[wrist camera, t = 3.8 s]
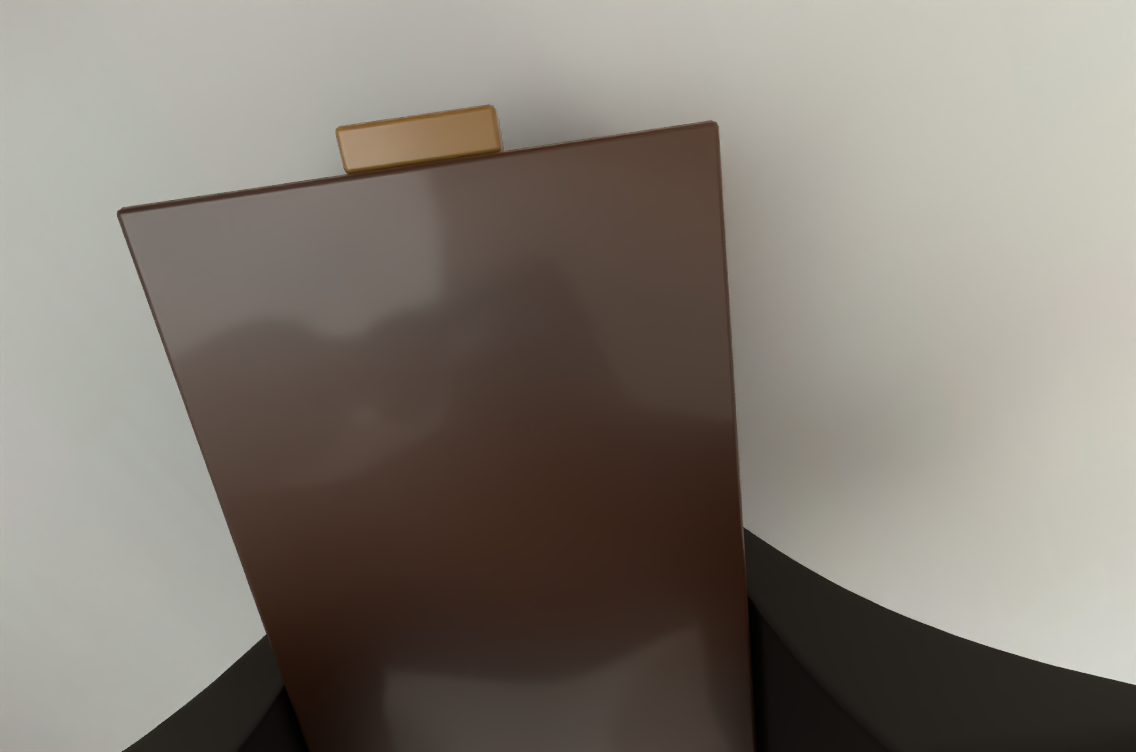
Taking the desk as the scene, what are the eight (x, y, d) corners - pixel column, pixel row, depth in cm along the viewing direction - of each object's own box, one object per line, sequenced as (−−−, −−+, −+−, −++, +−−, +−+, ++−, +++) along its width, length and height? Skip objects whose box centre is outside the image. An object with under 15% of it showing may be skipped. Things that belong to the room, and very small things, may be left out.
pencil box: (687, 764, 15) (778, 1078, 10) (470, 803, 15) (446, 1142, 10) (617, 118, 11) (716, 67, 5) (305, 165, 10) (93, 159, 5)
